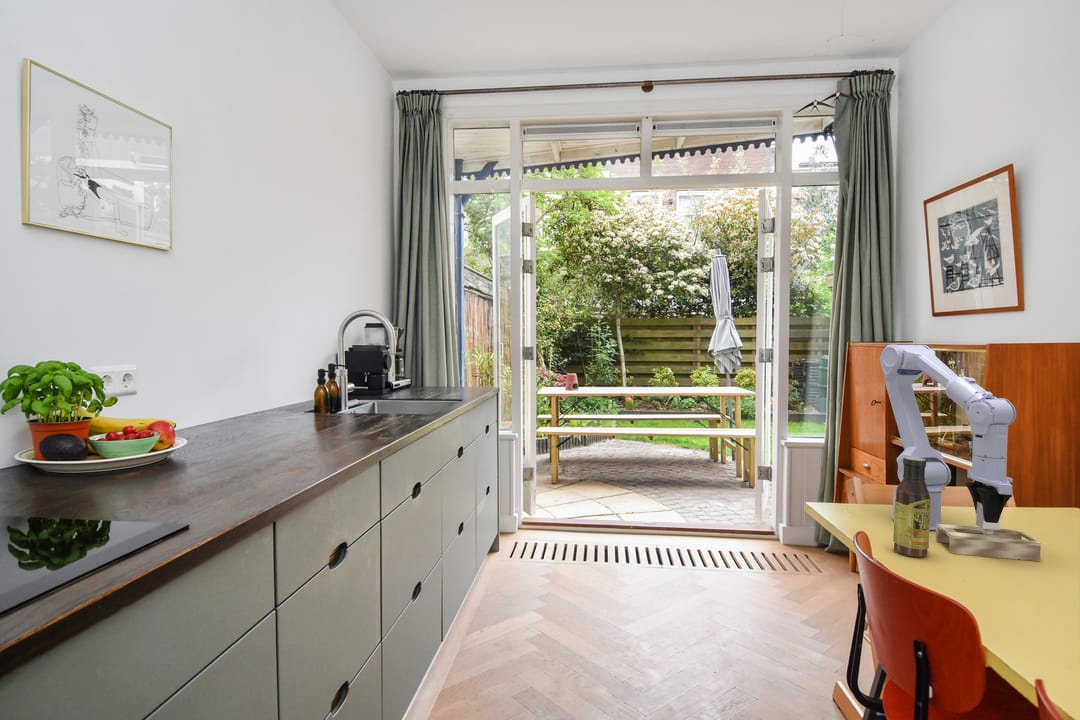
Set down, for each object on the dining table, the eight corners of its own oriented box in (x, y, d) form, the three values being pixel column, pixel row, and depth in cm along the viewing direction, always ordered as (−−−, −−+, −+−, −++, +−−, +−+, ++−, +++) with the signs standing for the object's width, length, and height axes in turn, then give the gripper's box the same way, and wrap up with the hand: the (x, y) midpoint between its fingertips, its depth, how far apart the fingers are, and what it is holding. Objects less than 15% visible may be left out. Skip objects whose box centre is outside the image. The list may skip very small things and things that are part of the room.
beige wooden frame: (951, 553, 119) (951, 535, 119) (935, 540, 127) (936, 523, 127) (1040, 561, 115) (1040, 542, 115) (1018, 547, 123) (1019, 530, 122)
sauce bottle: (917, 560, 115) (920, 462, 114) (886, 550, 120) (889, 457, 120) (935, 555, 118) (938, 459, 117) (904, 545, 124) (907, 454, 123)
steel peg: (979, 549, 119) (981, 505, 119) (970, 542, 123) (971, 500, 123) (1004, 551, 118) (1006, 507, 118) (994, 544, 122) (995, 501, 122)
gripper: (1031, 464, 112) (1028, 532, 112) (994, 450, 126) (992, 511, 126) (989, 462, 114) (987, 529, 114) (957, 448, 128) (955, 508, 128)
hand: (987, 519), depth 121 cm, fingers closed on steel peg, 3 cm apart
